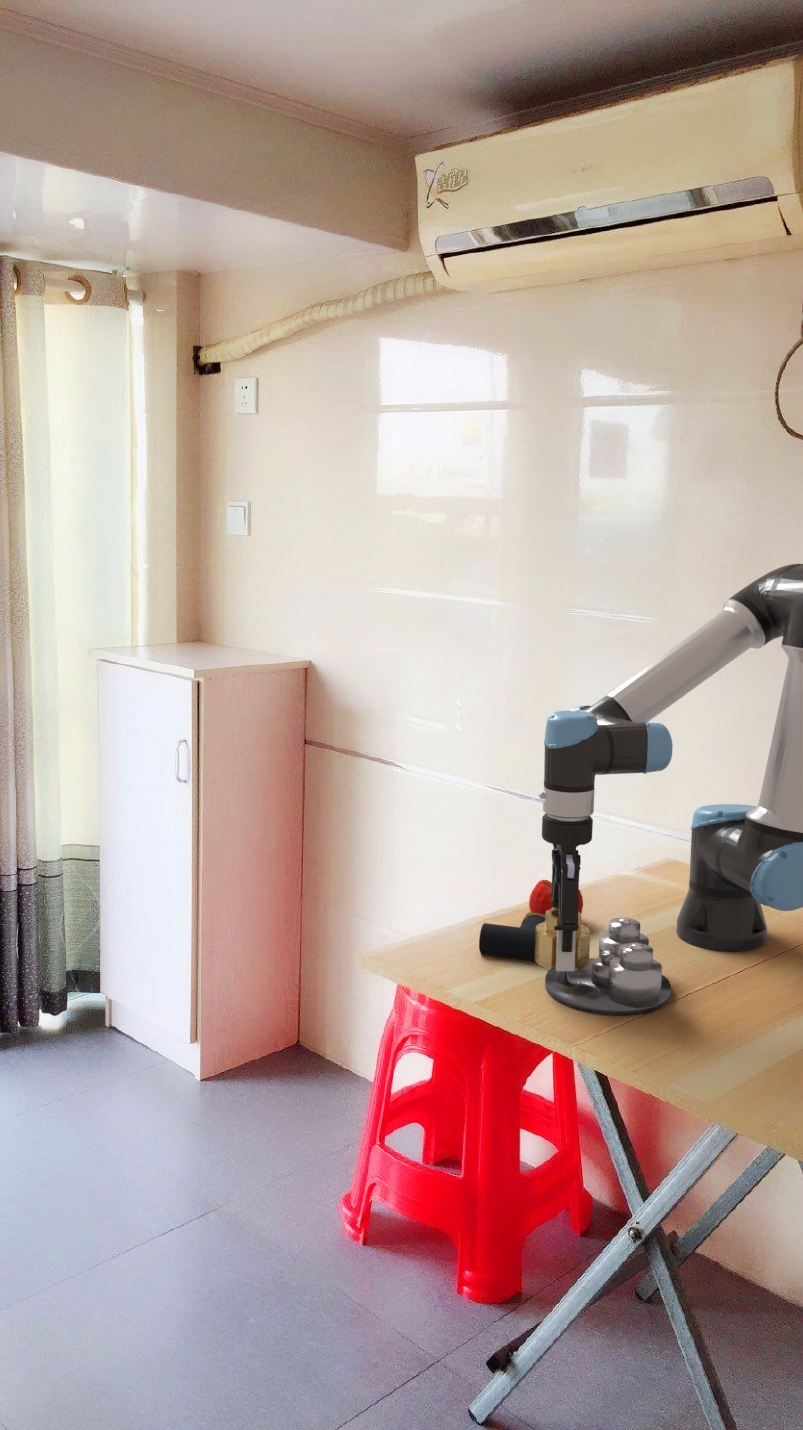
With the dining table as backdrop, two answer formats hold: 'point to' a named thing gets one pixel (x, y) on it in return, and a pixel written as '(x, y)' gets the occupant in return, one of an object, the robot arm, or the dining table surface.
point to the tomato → (545, 898)
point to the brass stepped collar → (548, 942)
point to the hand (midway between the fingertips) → (561, 959)
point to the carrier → (614, 976)
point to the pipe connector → (511, 938)
